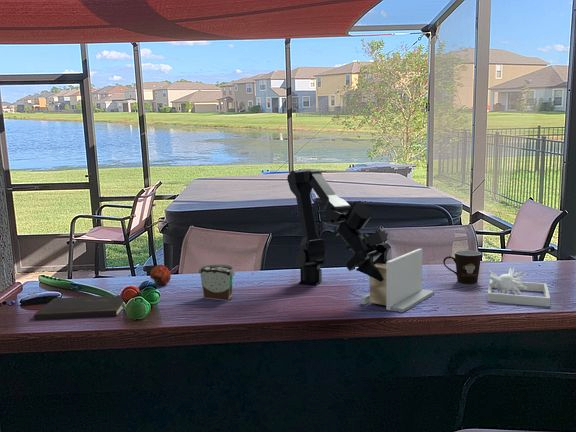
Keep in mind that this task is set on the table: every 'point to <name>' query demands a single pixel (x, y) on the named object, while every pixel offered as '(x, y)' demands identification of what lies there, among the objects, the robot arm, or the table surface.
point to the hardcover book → (80, 308)
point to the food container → (217, 281)
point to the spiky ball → (507, 281)
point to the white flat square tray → (522, 298)
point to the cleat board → (403, 282)
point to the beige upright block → (378, 286)
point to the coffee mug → (466, 266)
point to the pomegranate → (160, 275)
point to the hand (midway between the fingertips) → (386, 278)
